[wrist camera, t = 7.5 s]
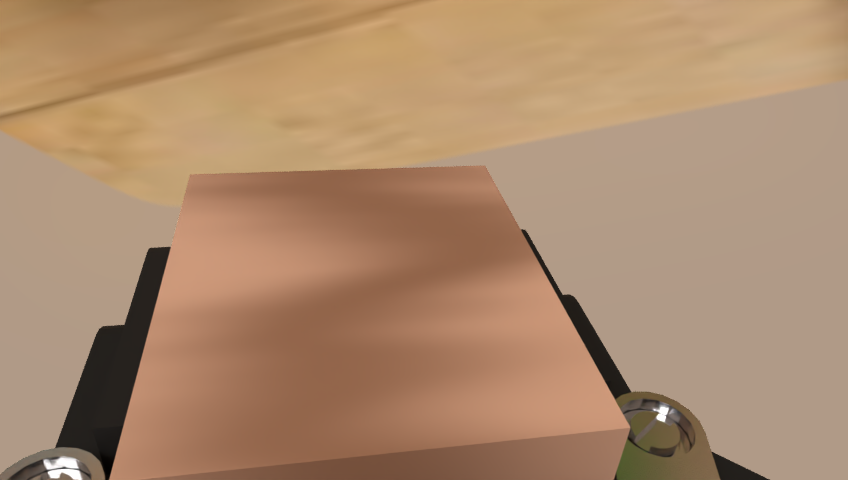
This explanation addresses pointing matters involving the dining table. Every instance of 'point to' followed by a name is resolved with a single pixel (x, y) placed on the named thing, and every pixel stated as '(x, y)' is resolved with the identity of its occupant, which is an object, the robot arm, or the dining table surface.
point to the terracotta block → (362, 339)
